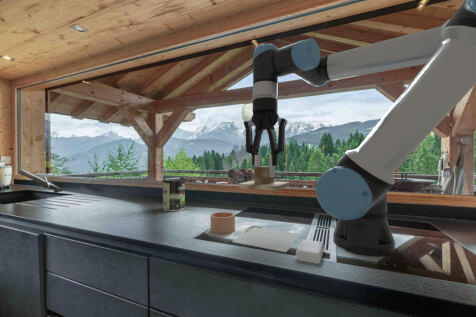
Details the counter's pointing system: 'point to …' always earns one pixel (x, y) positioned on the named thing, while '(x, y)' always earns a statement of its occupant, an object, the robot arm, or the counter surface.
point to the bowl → (222, 222)
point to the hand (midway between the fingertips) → (264, 176)
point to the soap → (310, 251)
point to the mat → (268, 239)
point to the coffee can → (173, 194)
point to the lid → (263, 181)
